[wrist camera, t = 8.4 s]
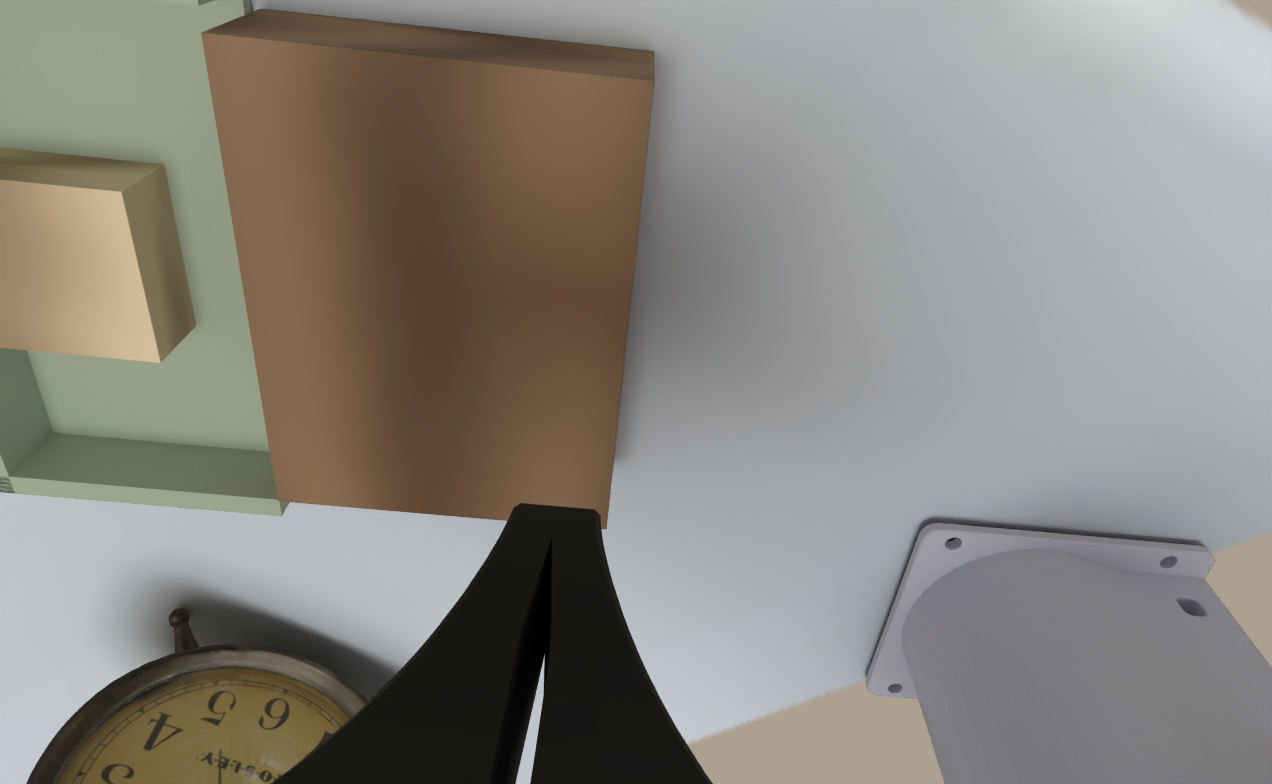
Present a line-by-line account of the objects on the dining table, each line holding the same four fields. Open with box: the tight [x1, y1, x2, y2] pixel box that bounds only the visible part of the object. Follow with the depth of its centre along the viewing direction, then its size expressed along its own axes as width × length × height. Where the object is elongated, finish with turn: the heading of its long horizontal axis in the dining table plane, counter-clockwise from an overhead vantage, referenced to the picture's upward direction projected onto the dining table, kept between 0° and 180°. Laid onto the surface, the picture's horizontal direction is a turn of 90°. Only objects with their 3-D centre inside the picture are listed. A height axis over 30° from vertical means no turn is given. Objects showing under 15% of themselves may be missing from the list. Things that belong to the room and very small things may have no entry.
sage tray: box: [0, 0, 289, 516], centre depth 21 cm, size 8×14×2 cm, turn 174°
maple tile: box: [0, 148, 196, 363], centre depth 21 cm, size 4×4×2 cm
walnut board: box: [201, 9, 654, 529], centre depth 21 cm, size 9×12×3 cm
